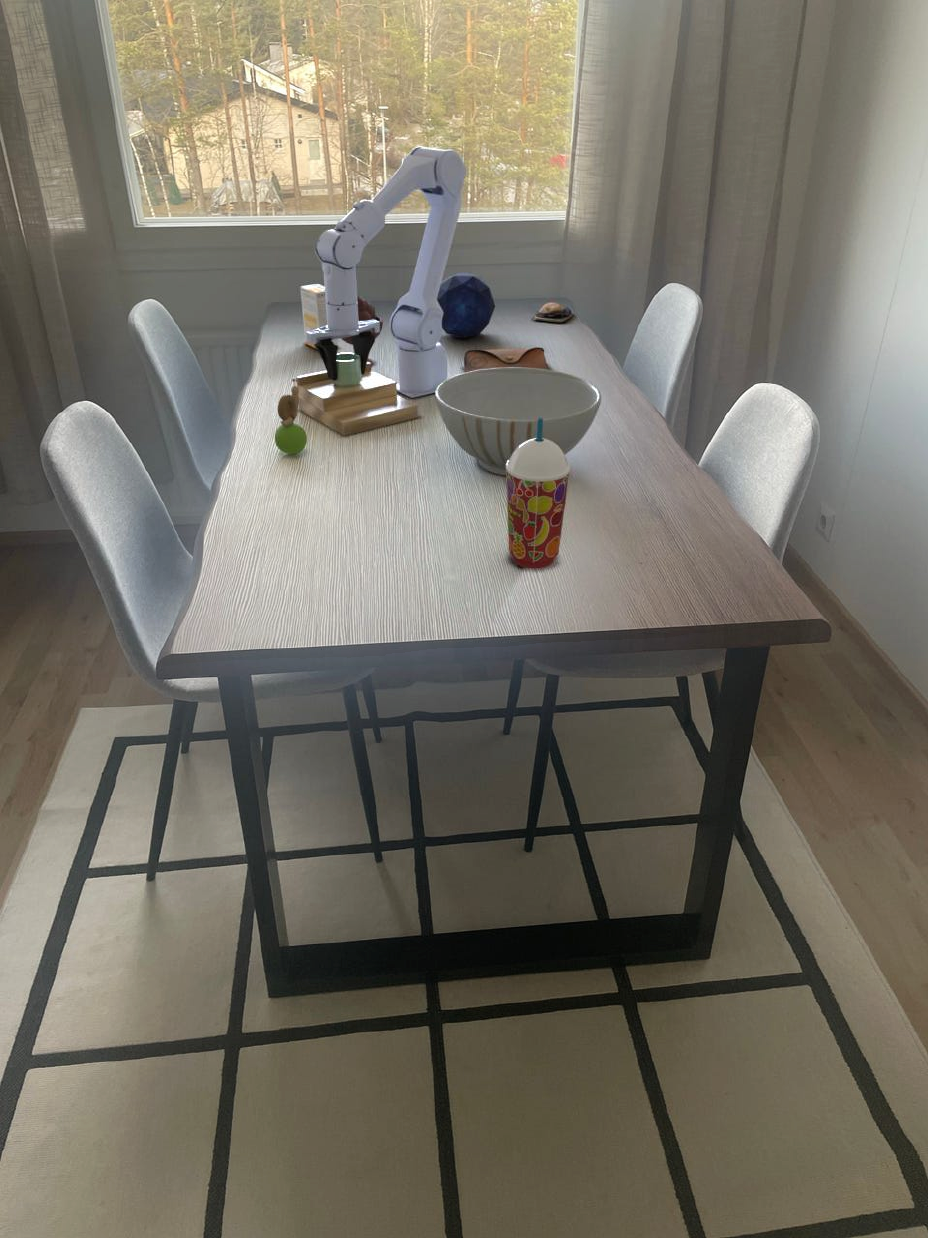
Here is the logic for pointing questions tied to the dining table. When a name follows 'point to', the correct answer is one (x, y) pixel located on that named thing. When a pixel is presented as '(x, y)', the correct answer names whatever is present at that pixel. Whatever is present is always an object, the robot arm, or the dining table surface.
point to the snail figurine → (290, 424)
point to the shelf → (354, 402)
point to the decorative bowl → (515, 410)
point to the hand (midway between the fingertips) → (346, 375)
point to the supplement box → (314, 309)
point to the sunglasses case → (505, 359)
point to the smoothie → (536, 500)
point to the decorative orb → (465, 305)
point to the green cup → (348, 370)
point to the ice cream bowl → (366, 318)
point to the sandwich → (553, 313)
